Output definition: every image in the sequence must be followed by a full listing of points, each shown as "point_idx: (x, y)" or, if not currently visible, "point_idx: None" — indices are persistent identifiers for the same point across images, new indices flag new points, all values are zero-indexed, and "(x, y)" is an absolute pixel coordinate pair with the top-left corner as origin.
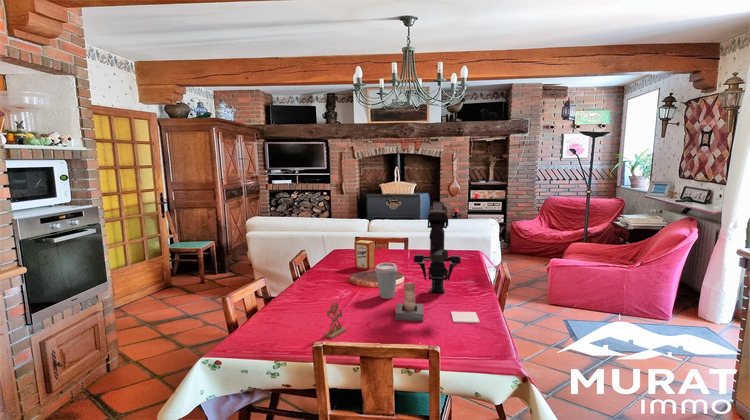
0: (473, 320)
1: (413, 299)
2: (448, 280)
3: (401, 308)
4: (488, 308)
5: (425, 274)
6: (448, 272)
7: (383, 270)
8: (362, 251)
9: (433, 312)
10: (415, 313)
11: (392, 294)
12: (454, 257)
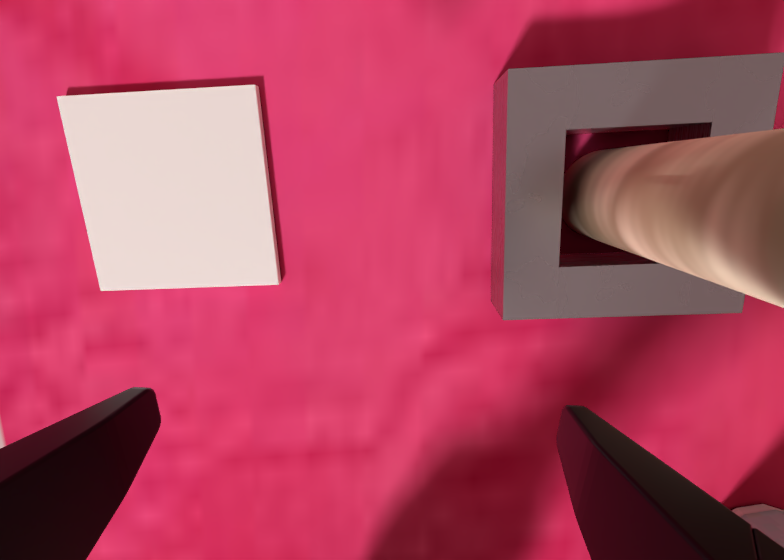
0: (103, 119)
1: (654, 159)
2: (140, 387)
3: None
4: (30, 384)
5: (628, 472)
6: (13, 531)
7: None
8: None
9: (411, 275)
10: (585, 67)
11: None
12: None
